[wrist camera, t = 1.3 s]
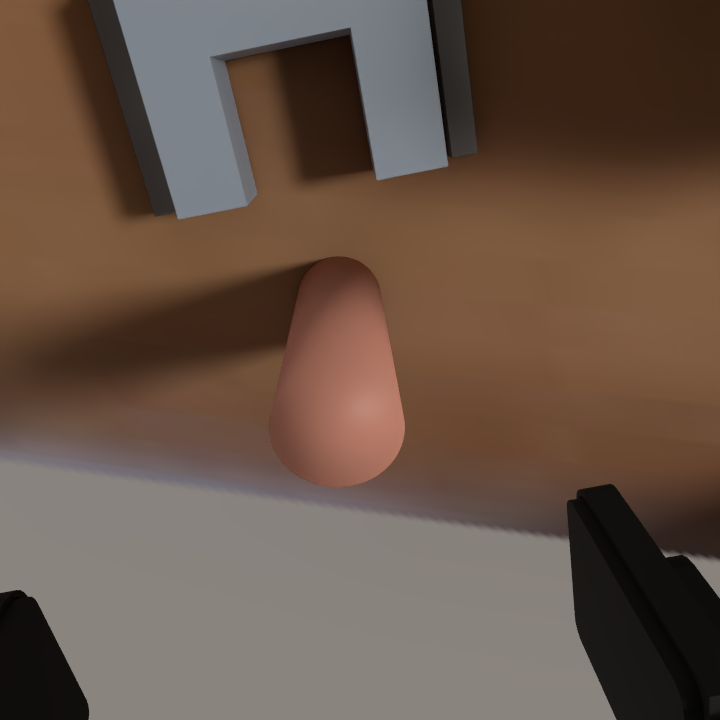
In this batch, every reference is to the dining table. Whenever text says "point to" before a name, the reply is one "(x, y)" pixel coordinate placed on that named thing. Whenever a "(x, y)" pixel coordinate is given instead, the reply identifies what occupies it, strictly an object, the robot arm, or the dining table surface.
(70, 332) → the dining table surface
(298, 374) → the dowel
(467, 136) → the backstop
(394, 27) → the block
